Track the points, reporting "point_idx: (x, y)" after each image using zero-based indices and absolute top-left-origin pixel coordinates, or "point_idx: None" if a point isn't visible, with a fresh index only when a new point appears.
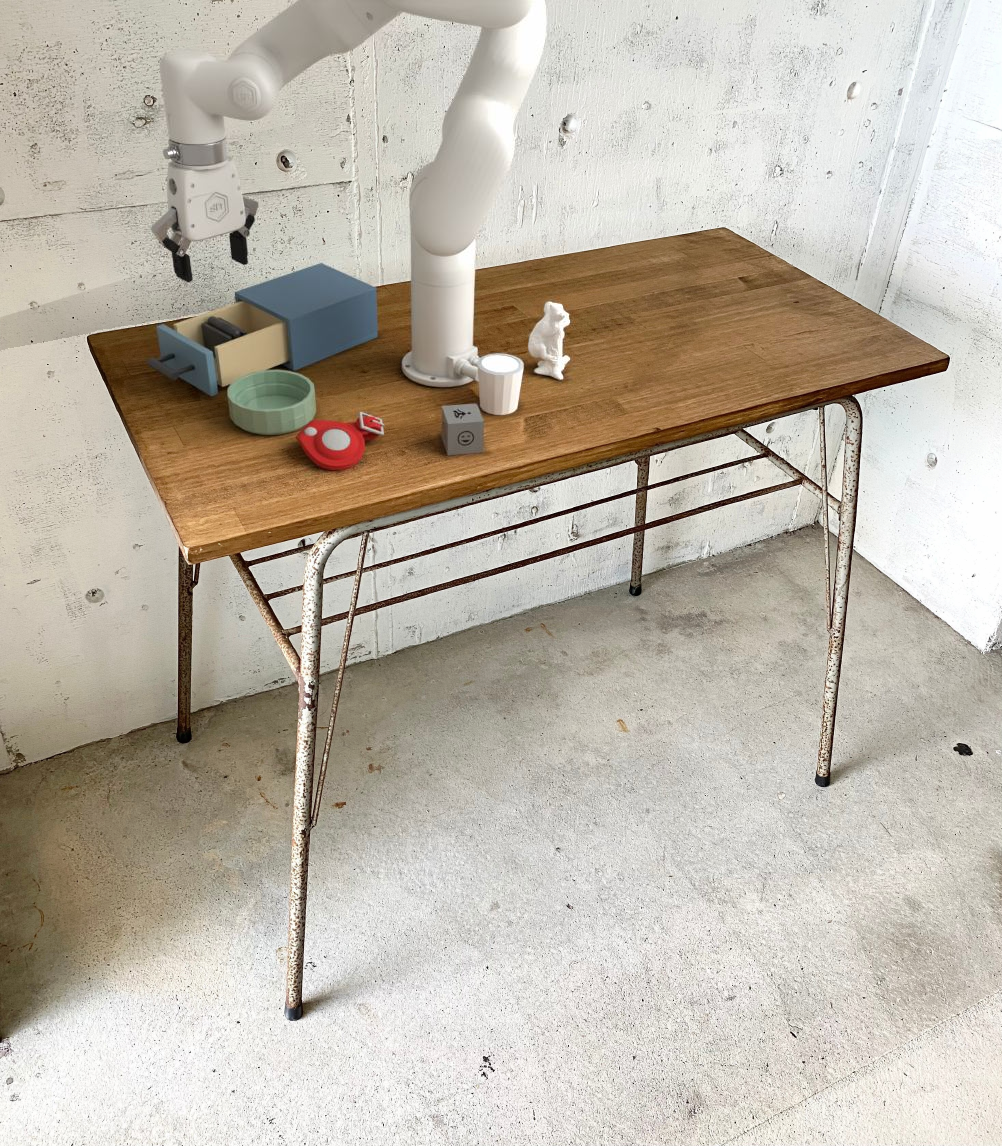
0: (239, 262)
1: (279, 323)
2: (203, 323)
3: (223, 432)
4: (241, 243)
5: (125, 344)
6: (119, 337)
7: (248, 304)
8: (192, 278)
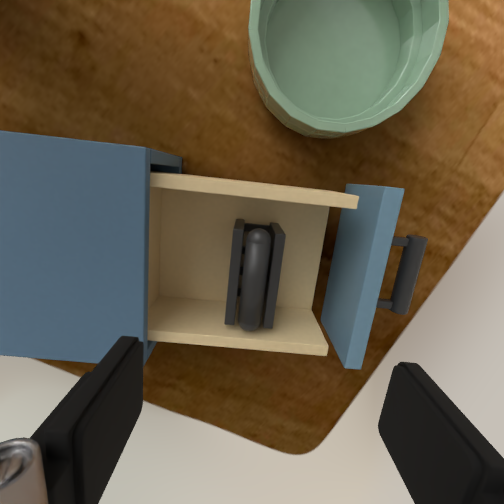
0: (142, 364)
1: (160, 183)
2: (269, 325)
3: (428, 82)
4: (93, 414)
5: (299, 418)
6: (289, 438)
7: None
8: (401, 367)
